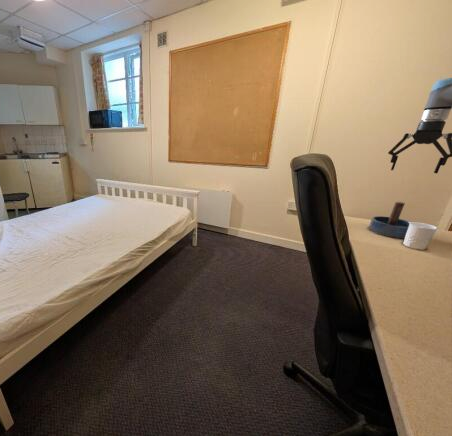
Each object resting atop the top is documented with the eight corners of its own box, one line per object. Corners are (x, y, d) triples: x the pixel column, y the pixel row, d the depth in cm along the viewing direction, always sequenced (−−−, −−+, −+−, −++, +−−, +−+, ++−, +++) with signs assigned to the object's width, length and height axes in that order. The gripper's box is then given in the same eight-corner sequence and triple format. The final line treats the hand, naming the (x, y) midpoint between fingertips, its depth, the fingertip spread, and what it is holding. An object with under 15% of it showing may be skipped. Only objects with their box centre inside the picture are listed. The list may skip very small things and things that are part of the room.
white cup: (426, 252, 92) (437, 230, 89) (400, 245, 98) (408, 225, 94) (427, 246, 97) (437, 225, 93) (402, 240, 103) (410, 220, 99)
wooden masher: (395, 231, 111) (407, 202, 106) (395, 234, 108) (408, 204, 103) (382, 228, 115) (392, 200, 109) (382, 231, 111) (393, 202, 106)
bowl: (409, 232, 112) (414, 221, 110) (411, 242, 101) (417, 230, 99) (369, 224, 122) (372, 214, 120) (367, 232, 111) (371, 221, 109)
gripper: (391, 121, 99) (375, 169, 106) (484, 118, 82) (457, 175, 90) (391, 122, 104) (376, 168, 111) (478, 119, 88) (454, 173, 95)
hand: (412, 171), depth 101 cm, fingers open, 13 cm apart
